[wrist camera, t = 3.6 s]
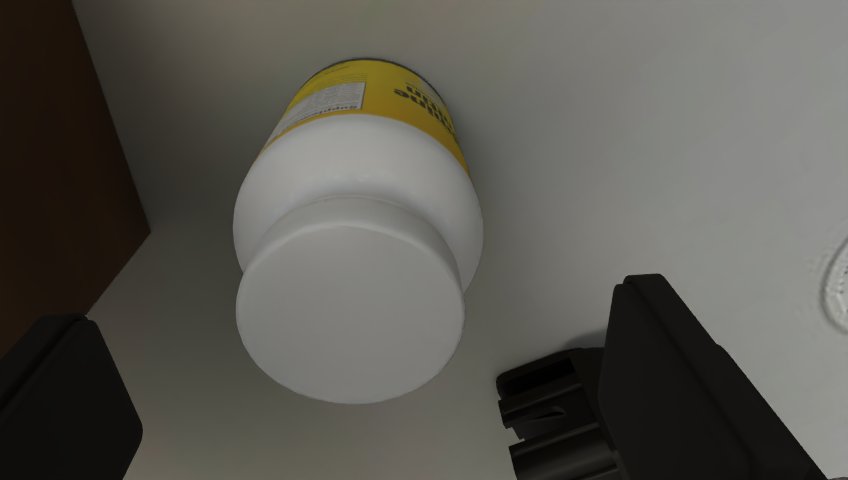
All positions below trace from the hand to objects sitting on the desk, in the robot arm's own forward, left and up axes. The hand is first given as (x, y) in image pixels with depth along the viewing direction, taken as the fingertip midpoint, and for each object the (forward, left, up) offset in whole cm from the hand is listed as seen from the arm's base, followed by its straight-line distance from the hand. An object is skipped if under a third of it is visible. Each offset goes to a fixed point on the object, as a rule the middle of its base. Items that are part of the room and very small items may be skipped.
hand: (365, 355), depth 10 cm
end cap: (+10, -16, -13) cm, 23 cm away
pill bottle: (0, 0, -13) cm, 13 cm away
